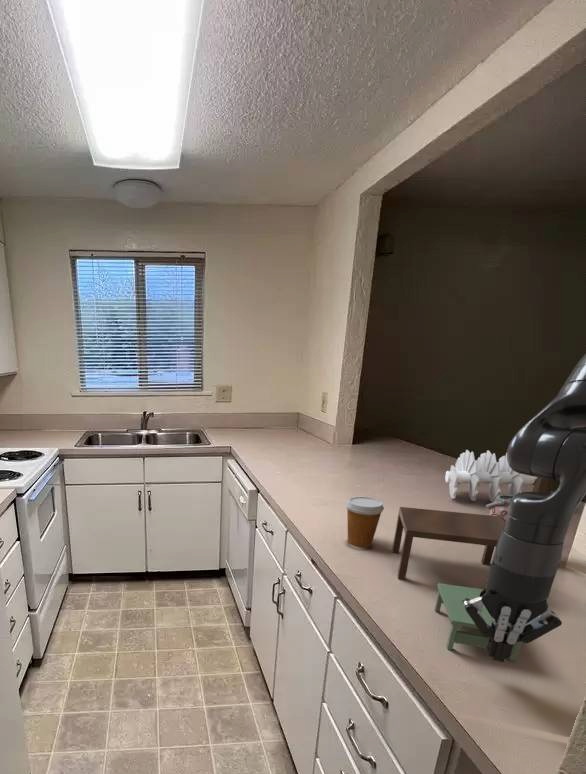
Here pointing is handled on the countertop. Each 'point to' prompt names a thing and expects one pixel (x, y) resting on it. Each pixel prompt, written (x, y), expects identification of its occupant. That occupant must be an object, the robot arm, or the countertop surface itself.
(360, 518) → the disposable coffee cup
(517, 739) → the countertop surface
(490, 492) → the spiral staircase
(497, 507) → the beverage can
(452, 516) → the side table
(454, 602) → the stool
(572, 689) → the countertop surface
